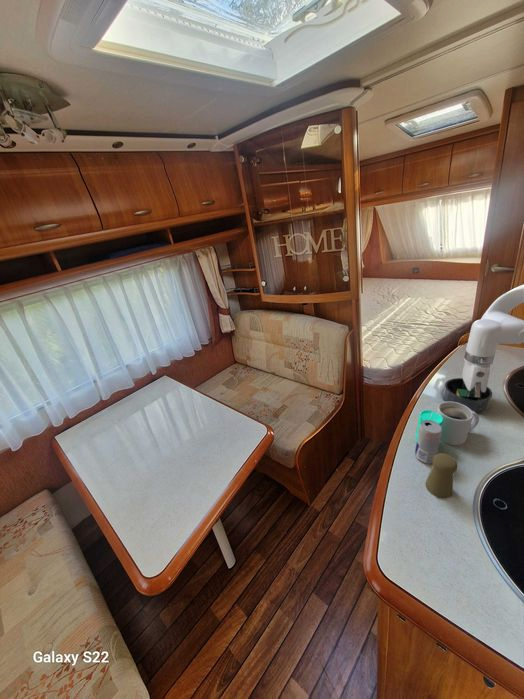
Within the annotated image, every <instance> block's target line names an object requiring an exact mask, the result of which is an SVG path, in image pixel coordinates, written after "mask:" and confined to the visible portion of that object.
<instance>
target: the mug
mask: <svg viewBox="0 0 524 699" xmlns="http://www.w3.org/2000/svg"><path fill="white" fill-rule="evenodd" d="M436 413H438V414H439V415H441V416H442V418H443V422H442V427H441V428H442V434H441V438H440V442H441V443H445V444H447V445H451V446H460V445H463V444H465V443H466V442H467V438H468V435H469V432H471V431H473V430H474V429H475V428H476V427H477V426H478V425H479V422H480V416H479V414H478V413H475V412H474V411H471V410H470V409H469V408H468V407H467V406H465V405H463V404H460V403H457V402H451V401H446V402H444V401H443V402H440V403H439V404H438V405H437V410H436ZM473 418H474V419H473Z"/></svg>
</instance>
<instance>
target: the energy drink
mask: <svg viewBox="0 0 524 699" xmlns="http://www.w3.org/2000/svg"><path fill="white" fill-rule="evenodd" d="M441 434H442V428H441V426H440V425H439V424H438V423H436V422H434V421H431V420H425V421H422V422H421V424H420V427H419V432H418V438H417V443H415V444H416V445H415V450H414V455H415V457H416V459H417V460H418V461H419V462H422V463H424V464H433V462H432V460H433V457H434V456H435V455H436V454H438V451H439V446H440V443H441V441H440V438H441Z"/></svg>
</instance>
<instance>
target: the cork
mask: <svg viewBox="0 0 524 699" xmlns="http://www.w3.org/2000/svg"><path fill="white" fill-rule="evenodd" d="M432 462H433V463H432V468H431V470H430V472H429V474H428V476H427V478H426V481H425V488H426V490H427V491H428V492H429V493H430V495H432V496H434V497H436V498H439V499H450V498H451V497H452V495H453V489H454V487H453V486H454V474H455V473H456V472H457V471H458V468H459V466H458V462H457V461H456V459H455V458H454V457H453V456H452V455H450V454H448V453H444V452H439V453H437V454H436V455H435V456H434V457H433V460H432Z"/></svg>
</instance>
